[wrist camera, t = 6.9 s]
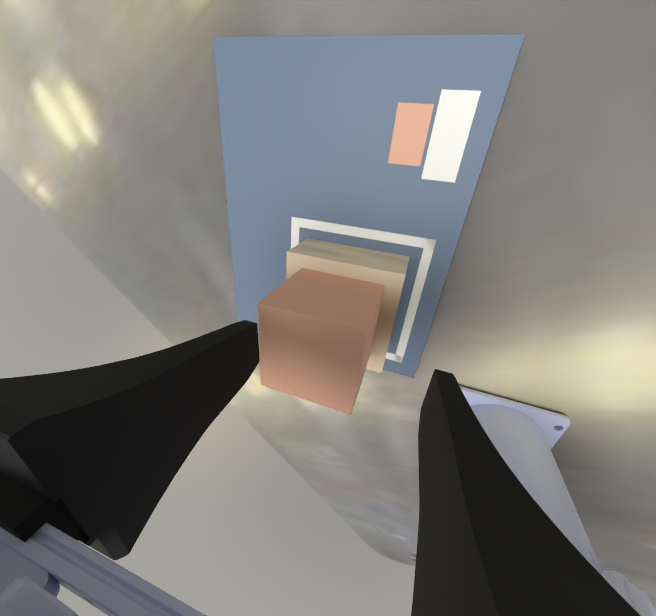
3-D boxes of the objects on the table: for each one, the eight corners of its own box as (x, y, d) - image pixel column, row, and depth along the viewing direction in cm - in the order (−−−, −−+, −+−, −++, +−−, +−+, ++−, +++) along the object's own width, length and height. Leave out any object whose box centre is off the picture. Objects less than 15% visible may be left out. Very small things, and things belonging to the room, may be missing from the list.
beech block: (388, 344, 21) (381, 373, 18) (304, 322, 23) (285, 345, 20) (409, 256, 18) (405, 274, 15) (308, 238, 19) (286, 251, 16)
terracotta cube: (370, 355, 18) (351, 415, 13) (298, 335, 19) (260, 384, 15) (384, 285, 15) (367, 330, 11) (302, 267, 16) (257, 303, 12)
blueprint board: (414, 371, 22) (413, 378, 21) (243, 324, 26) (237, 328, 25) (519, 41, 13) (525, 33, 12) (221, 42, 16) (211, 36, 16)
